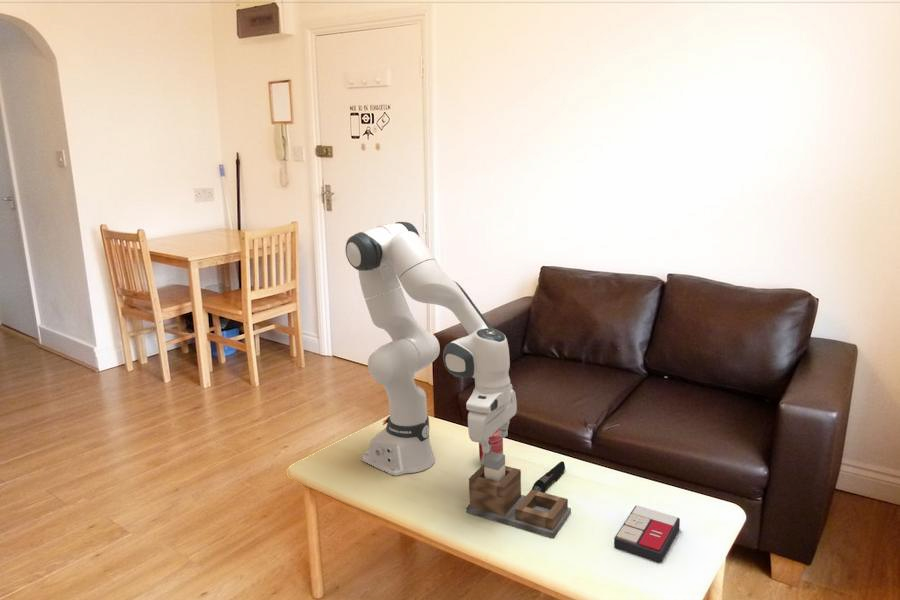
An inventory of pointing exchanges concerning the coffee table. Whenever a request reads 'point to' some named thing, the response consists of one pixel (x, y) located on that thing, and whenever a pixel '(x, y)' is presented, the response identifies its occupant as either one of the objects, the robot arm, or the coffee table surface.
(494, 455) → the plug
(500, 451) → the soda can
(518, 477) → the twin wooden frame tray
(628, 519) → the calculator
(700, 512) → the coffee table surface
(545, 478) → the electric trimmer
